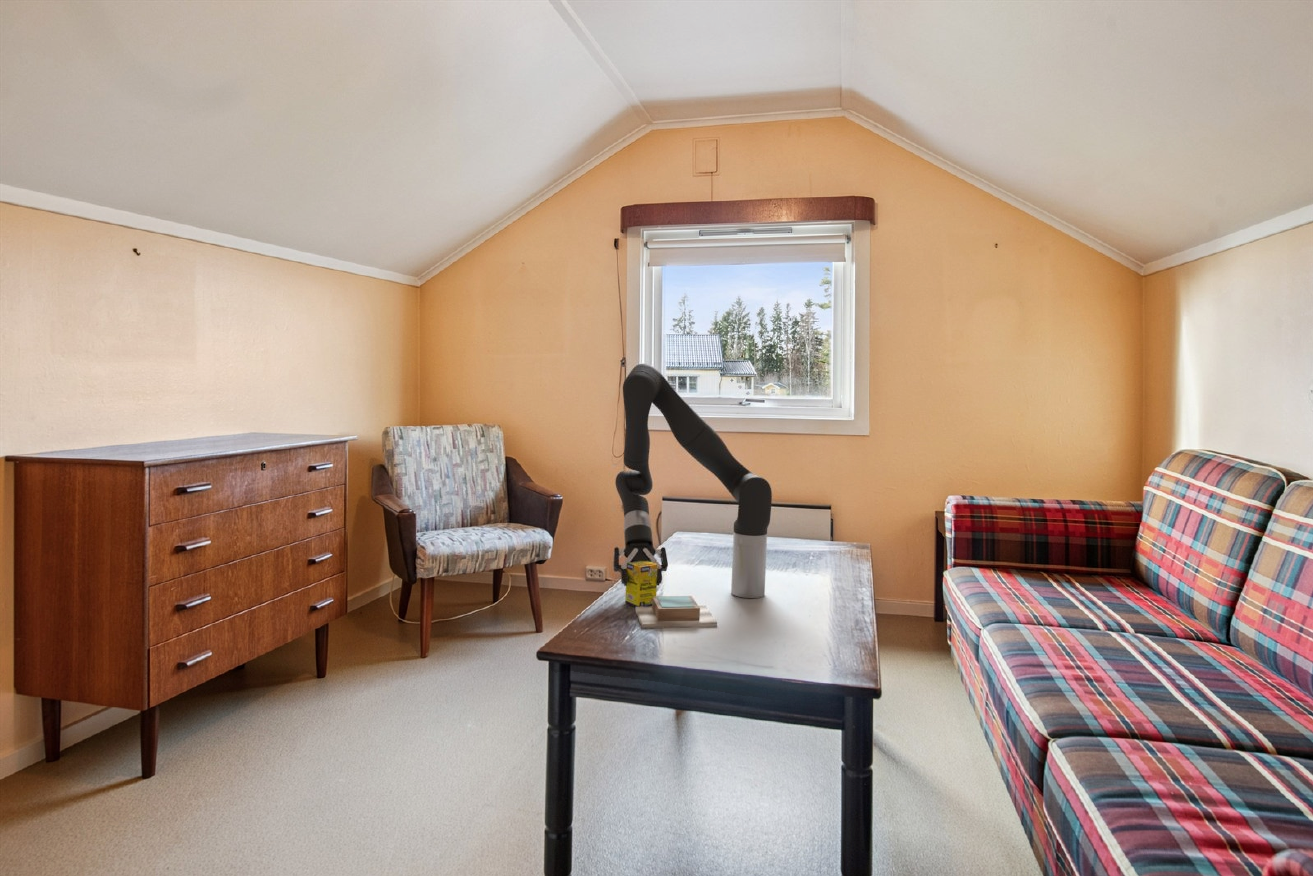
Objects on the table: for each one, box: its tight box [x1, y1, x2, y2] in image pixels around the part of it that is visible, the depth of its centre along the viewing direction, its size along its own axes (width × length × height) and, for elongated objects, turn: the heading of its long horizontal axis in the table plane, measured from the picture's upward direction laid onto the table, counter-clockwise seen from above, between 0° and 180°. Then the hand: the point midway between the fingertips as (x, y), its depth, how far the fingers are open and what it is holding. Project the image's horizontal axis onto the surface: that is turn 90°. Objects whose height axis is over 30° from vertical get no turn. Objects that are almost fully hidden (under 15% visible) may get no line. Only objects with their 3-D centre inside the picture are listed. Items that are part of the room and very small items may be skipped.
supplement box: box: [624, 561, 658, 609], centre depth 184 cm, size 6×6×11 cm
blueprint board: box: [635, 595, 718, 629], centre depth 174 cm, size 13×18×4 cm
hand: (642, 584), depth 182 cm, fingers closed on supplement box, 8 cm apart
